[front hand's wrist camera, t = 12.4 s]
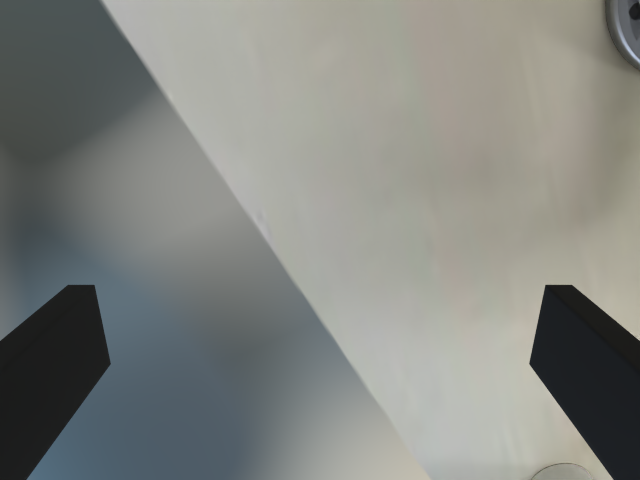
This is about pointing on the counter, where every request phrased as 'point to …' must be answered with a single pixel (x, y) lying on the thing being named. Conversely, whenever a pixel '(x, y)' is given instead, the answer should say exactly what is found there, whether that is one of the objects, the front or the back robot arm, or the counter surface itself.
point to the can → (563, 473)
